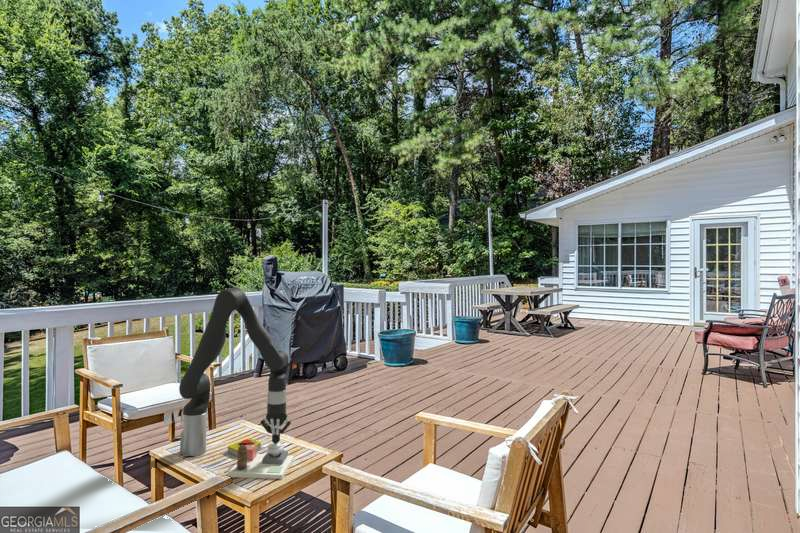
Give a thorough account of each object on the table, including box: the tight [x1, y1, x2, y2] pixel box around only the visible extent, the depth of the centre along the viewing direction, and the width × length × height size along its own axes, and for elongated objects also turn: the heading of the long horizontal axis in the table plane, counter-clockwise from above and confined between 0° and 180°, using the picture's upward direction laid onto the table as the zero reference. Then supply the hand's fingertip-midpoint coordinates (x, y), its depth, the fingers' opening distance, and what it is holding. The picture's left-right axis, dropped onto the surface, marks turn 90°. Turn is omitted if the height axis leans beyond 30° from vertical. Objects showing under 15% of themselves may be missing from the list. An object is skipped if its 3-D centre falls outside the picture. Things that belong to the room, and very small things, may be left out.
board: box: [227, 450, 295, 480], centre depth 175 cm, size 21×17×4 cm
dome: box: [266, 441, 285, 457], centre depth 179 cm, size 6×6×4 cm
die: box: [245, 445, 258, 461], centre depth 180 cm, size 4×4×5 cm
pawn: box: [236, 445, 247, 470], centre depth 171 cm, size 4×4×9 cm
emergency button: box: [222, 437, 265, 460], centre depth 190 cm, size 9×4×15 cm
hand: (275, 443), depth 179 cm, fingers closed
